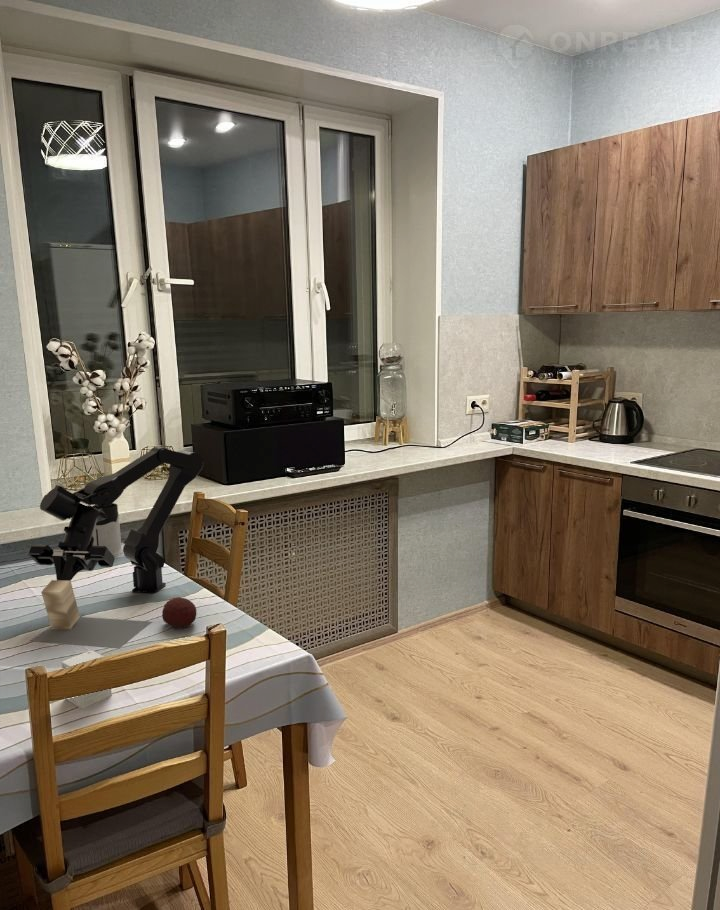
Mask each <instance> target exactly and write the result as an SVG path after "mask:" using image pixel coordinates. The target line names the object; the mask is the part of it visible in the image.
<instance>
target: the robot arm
mask: <svg viewBox="0 0 720 910" xmlns="http://www.w3.org/2000/svg"><path fill="white" fill-rule="evenodd" d="M203 460H204V459H203V456H201V455H200V453H197V452H193V451H188V450H179V451H176V450H173V449H172V450H171V449H168V448H167V447H163V446H153V447H152V448H151V449H150V450H149V451H147V452H146V453H145V454H143V455H141V456H140V457H137V458H136V459H135V460H133V461H132V462H130V463H128V464H127V465H125V466H124V467H122V468H120V469H119V470H118V471H116V472H114V473H111V474H108V475H105V476H101V477H99V478H96V479H94V480H91V481H88V483H87V484H85V486H84V487H83V488H81V489H79V490H77V491H75V492H71V491H69V490H67V489H66V488H65V487H64V486H61V485H59V484H56V485H55V486H54V488H52V489H51V490H49V491H48V492H47V493H46V494H44V496H43V498H41V499H42V500H41V501H40V504H39V508H40V511H43V512H44V513H46V514H48V515H51V516H53V517H55V518H56V519H58V520H61V521H65V520H70V521H69V524H68V526H64V528H63V532H64V533H65V535H64V537H63V540H62V541H59V542H58V545H57V546H58V548H59V549H53V548H52V547H51V546H50V545H48V544H33V545H31V546H30V547H29V550H28V552H27V556H29V558H31V560H33V561H34V563H36V564H37V565H39V566H52V565H54V569H55V578H56V580H65V581H71V582H72V580H73V579H74V577H76V576H77V574H78V573H79V572H81V571H89V572H90V571H93V570H94V569H95V567H96V565H97V564H98V565H99V567H100V568H101V567H102V568H113V566H114V562H115V556H114V555H113V554H112V553H111V552H110V551H109V549H108V548H107V547H106V546H94V538H93V531H94V528H95V525H96V522H98V521H101V520H104V519H106V518H107V516H106V514H105V513H104V512H103V509H99V510H98V509H96V508H94V507H92V506H94V505H97V506H100V507H107V506H109V505H111V504H112V503H115V501H117V499H118V500H119V498H120V497H121V495H122V494H123V493H124V491H125V490H126V489H127V488H128V487H129V486H131V485H132V484H134V483H136V482H137V481H138V480H140V479H142V478H143V477H144V476H146V475H147V474H149V473H150V472H152V471H154V470H155V469H157V468H158V467H160V466H162V465H163V464H167V465H169V466H168V478H167V480H166V482H165V484H164V486H163V488H162V489H161V491H160V494H159V495H158V497H157V499H156V501H155V503H154V505H153V506H152V508H151V509H150V511H149V513H148V515H147V517H146V518H145V521H144V523H143V524H142V525H141V527H140V528H138V529H137V530H135V529H130V531H129V533H128V535H127V538H126V539H125V540H124V541H123V542H122V543H123V544H124V545H123V548H122V550H123V555H124V557H125V558H126V559H127V560H129V561H130V564H131V565H132V566H134V567H133V572H132V582H133V583H132V584H133V588H132V589H131V591H132V592H133V593H135V592H136V593H149V594H154V593H157V592H159V590H161V589H162V588H163V587H165V586H166V585H167V583H166V582H163V568H164V567H165V566H164V565H165V562H166V559H165V557H163V556H162V555H160V554H159V553H157V552H158V548H159V545H160V534H161V532H162V530H163V528H164V526H165V525H166V523H167V521H168V519H169V517H170V516H171V514H172V512H173V509H174V508H175V506H176V504H177V502H178V500H179V498H180V496H181V495H182V494H183V493H182V492H183V491H184V490H185V487H186V486H187V485H188V484H190V483H191V482H192V481H193V480H194V479H196V477H198V475H199V473H200V472H201V471H202V470H203V467H204V461H203Z"/></svg>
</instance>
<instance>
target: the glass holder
mask: <svg viewBox="0 0 720 910" xmlns="http://www.w3.org/2000/svg"><path fill="white" fill-rule="evenodd" d="M91 506H92V507H94V508H96V509H98V510H99V509H103V512H104V513H105V514H106V516H107V518H106V519H104V520H101V521H98V522H96V525H95V528H94V531H93V534H92V537H93V538H94V542H93V546H106V547H107V548H108V549H109V551H110V552H111V553H112V554H113V555H114V557H117V556H120V555H122V554H124V551H123V548H122V539H121V538H122V537H121V527H120V514H119V511H118V509H119V508H118V504H117V503H115V502H113V503H112V504H111V505H109V506H107V507H100V506H97V505H91ZM119 554H120V555H119Z"/></svg>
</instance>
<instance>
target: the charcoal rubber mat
mask: <svg viewBox="0 0 720 910" xmlns="http://www.w3.org/2000/svg"><path fill="white" fill-rule="evenodd" d="M151 623H152V621H147V620H131V619H118V618H105V617H104V618H101V617H90V616H89V617H87V616H80V618H79V619H78V621H77V622H76V623H75V625H74V626H73V627H72V628H71V630H65V629H51V626H50V627H48V628H47V629H45V630H44V631H42V632H41V633H39V634H38V635H36V636H35V637H33V638H32V639H30V640H29V642H33V643H47V644H60V645H73V646H87V647H95V648H96V647H98V648H111V649H112V648H113V649H121V648H122V647H123V646H125V645H126V644H127V643H128V642H129V641H130V640H132V639H133V638H134V637H135V636H137V635H138V634H139V633H140V632H142V631H143V630H145V628H146V627H147V626H149V625H150V624H151Z"/></svg>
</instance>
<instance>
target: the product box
mask: <svg viewBox="0 0 720 910" xmlns="http://www.w3.org/2000/svg"><path fill="white" fill-rule="evenodd" d="M100 657H104V656H103V655H102V654H100V653H98V652H95V651H93V650H88V651H86V652H84V653H81V654H77V655H76V656H75V655H74V656H73V657H70V658H68V659H65V660H61V669H62V668H66V667H70V666H73V665H76V664H79V663H82V662H86V661H89V660H92V659H95V658H100ZM112 695H113V694H112V688H111V689H109V690H104V691H99V692H95V693H91V694H87V695H82V696H78V697H74V698H70V699H65V700H66V701H68V702H70V703H72V704H73V705H75V706H76V707H77V708H79V709H85V708H87V707H90V706H92V705H94V704H96V703H99V702H101V701H103V700H105V699H108V698H110V697H111V696H112Z"/></svg>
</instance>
